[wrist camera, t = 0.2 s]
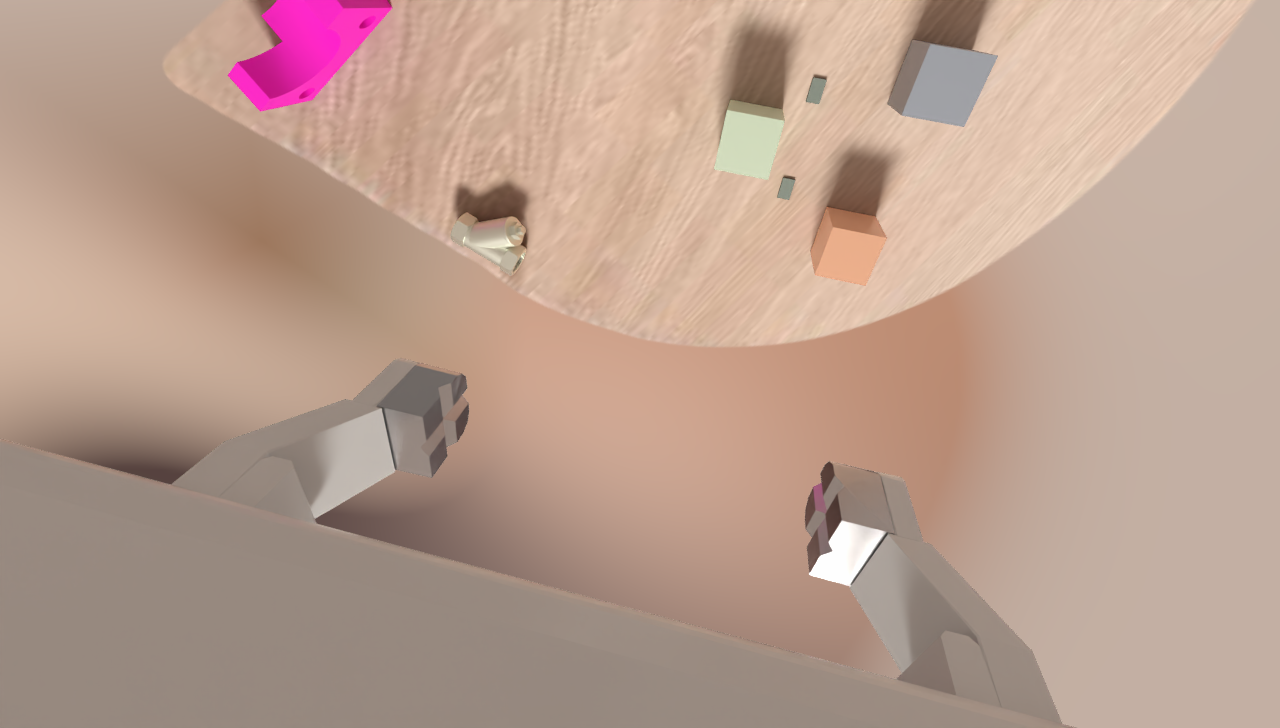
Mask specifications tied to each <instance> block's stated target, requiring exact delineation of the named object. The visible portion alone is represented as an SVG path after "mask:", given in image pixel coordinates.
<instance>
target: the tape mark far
mask: <svg viewBox="0 0 1280 728" xmlns="http://www.w3.org/2000/svg"><path fill="white" fill-rule="evenodd" d="M794 182H795V180H794V179H789V178H784V177H783V180H782V183H781V187H780V190H779V193H778V197H777V198H782V199H787V200H789V198H790V195H791V192H792V189H793V186H794Z"/></svg>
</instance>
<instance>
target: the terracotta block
mask: <svg viewBox="0 0 1280 728" xmlns="http://www.w3.org/2000/svg"><path fill="white" fill-rule="evenodd" d="M886 239H887V237H886V235H885V233H884V232H883V230H882V228H881V226H880V224H879V222H878V220H877V218H876V217H875V216H870V215H865V214H861V213H856V212H851V211H846V210H841V209H836V208H831V207H826V210H825V213H824V215H823V218H822V221H821V224H820V226H819V229H818V232H817V235H816V238H815V240H814V243H813V246H812V249H811V251H810V252H811V257H812V263H813V268H814V273H815V275H817V276H822V277H826V278H831V279H836V280H841V281H845V282H850V283H855V284H860V285H864V286H866V284H867V281H868V279H869V277H870V275H871V272H872V270H873V268H874V266H875V263H876V261H877V259H878V257H879V255H880V252H881V250H882V248H883V246H884V243H885V241H886Z"/></svg>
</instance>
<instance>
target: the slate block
mask: <svg viewBox="0 0 1280 728" xmlns="http://www.w3.org/2000/svg"><path fill="white" fill-rule="evenodd" d="M997 57H998V56H996V55H992V54H988V53H983V52H979V51H974V50H969V49H964V48H958V47H952V46H946V45H941V44H935V43H929V42H923V41H918V40H912V41H911V44H910V47H909V49H908V52H907V54H906V57H905V59H904V62H903V65H902V67H901V70H900V72H899V75H898V78H897V80H896V83H895V85H894V88H893V91H892V93H891V96H890V98H889V101H888V105H889V106H891V107H892V108H893V109H894V110H896V111H897V112H898V113H899V114H901V115H902V116H908V117H913V118H918V119H924V120H929V121H935V122H940V123H945V124H951V125H956V126H962V127H964V126H965V124H966V122H967V120H968V118H969V116H970V113H971V111H972V109H973V107H974V105H975V103H976V101H977V99H978V97H979V95H980V93H981V90H982V88H983V86H984V84H985V82H986V80H987V78H988V76H989V74H990V72H991V70H992V67H993V65H994V63H995V61H996V59H997Z"/></svg>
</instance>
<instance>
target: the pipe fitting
mask: <svg viewBox="0 0 1280 728" xmlns="http://www.w3.org/2000/svg"><path fill="white" fill-rule="evenodd" d="M525 232H526V229H525V227H524V226H523V225H522V224H521V223H520V222H519V220H518V219H517V218H515V217H513V216H510V217H504V218H499V219H493V220H487V221H482V222H479V221H478V219H477V218H476V217H474V216H472V215H471V214H469V213H467V212H466V213H464V214H463V215H461V216H460V217H459V219H458V220H457V221H456V223H455V225H454V227H453V229H452V231H451V239H452V241H453V242H455V243H457V244H458V245H460V246H462V247H467V248H469V249H470V250H472V251H474V252H475V253H477V254H479V255H480V256H482V257H484V258H486V259H487V260H489V261H491V262H492V263H494V264H496V265H497V266H499V267H500V269H501V270H502V271H504V272H505V273H507V274H509V275H510V276H511V275H513V274H514V273H515V272H516V271H517V269H518V268H519V266H520V265H521V263H522V261H523V259H524V257H525V255H526V248H525V247H524V246H522V245H520V244H521V243H522V241H523V236H524V234H525Z"/></svg>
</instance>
